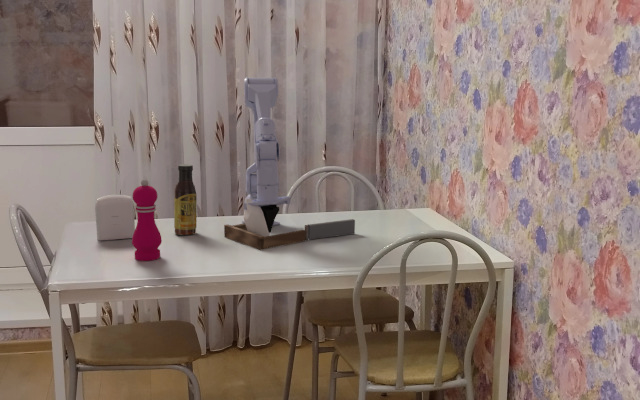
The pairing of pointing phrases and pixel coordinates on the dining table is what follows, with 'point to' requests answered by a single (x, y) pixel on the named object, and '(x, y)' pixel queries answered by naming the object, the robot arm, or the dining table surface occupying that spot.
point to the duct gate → (331, 229)
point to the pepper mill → (146, 224)
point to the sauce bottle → (185, 202)
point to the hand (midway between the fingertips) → (267, 231)
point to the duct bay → (261, 242)
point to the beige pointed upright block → (255, 219)
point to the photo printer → (114, 217)
